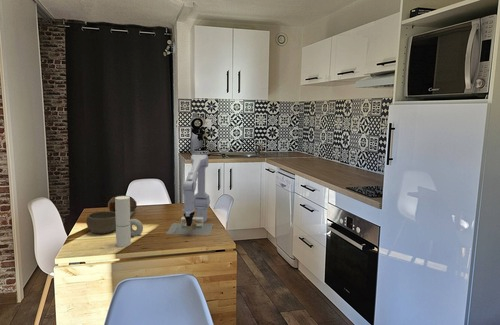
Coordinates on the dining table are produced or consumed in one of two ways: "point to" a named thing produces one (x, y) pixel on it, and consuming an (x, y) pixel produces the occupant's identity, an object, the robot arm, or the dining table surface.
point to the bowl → (101, 222)
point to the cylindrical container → (122, 221)
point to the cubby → (199, 229)
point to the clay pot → (112, 205)
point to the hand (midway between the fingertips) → (189, 225)
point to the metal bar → (174, 230)
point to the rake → (190, 226)
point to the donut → (137, 224)
